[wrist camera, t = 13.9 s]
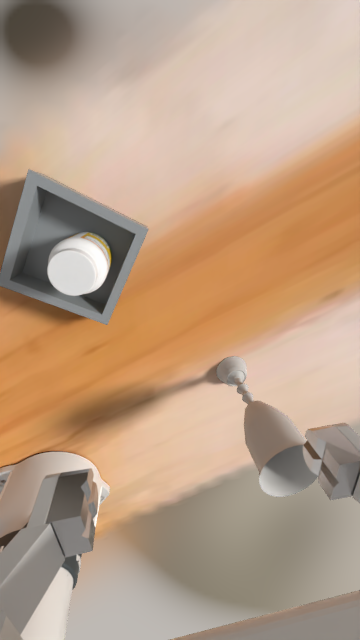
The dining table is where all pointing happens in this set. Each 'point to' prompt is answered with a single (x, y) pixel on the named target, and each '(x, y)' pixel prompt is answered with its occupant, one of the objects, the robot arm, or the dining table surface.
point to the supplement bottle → (79, 264)
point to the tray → (56, 225)
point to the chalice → (269, 438)
